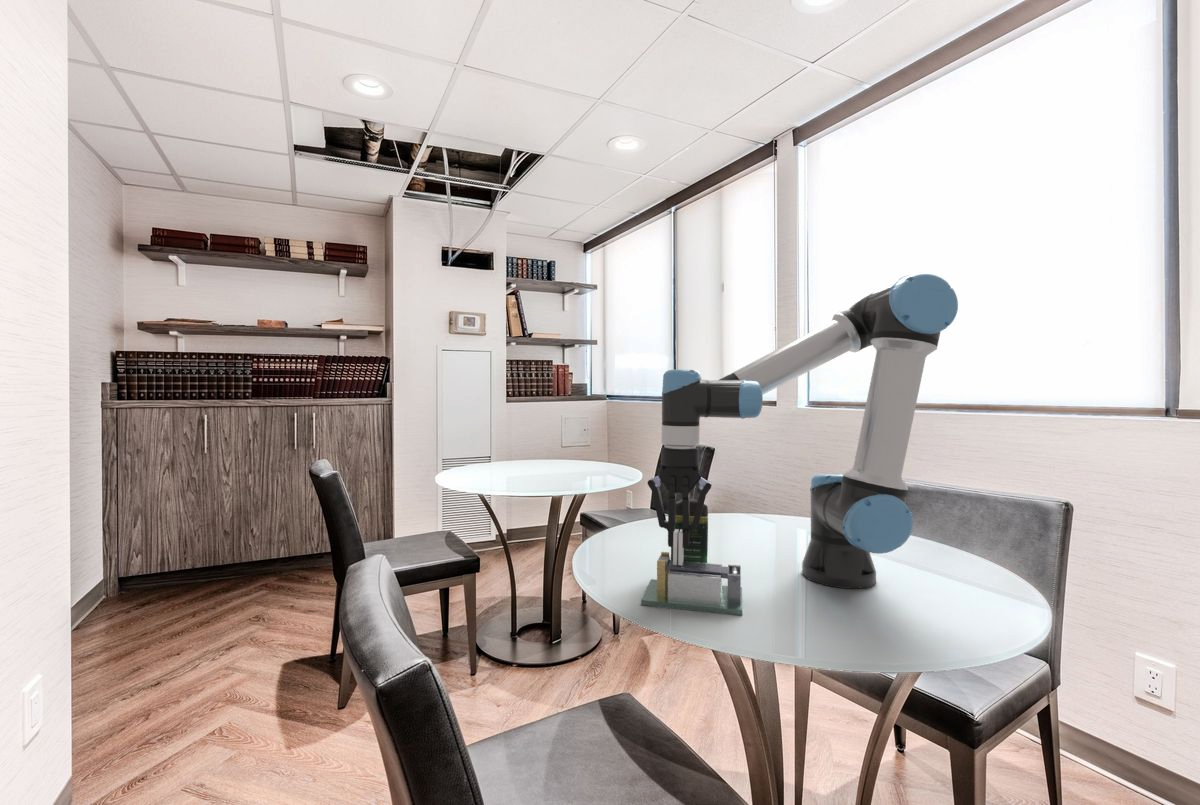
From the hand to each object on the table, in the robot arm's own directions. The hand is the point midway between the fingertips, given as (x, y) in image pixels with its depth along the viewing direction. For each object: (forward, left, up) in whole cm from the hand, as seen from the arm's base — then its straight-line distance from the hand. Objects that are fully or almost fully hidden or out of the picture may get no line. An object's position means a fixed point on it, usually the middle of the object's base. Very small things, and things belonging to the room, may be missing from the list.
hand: (678, 562), depth 107 cm
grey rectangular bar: (-3, 0, -1) cm, 3 cm away
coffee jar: (-1, -8, -8) cm, 11 cm away
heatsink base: (-3, 0, -7) cm, 8 cm away
